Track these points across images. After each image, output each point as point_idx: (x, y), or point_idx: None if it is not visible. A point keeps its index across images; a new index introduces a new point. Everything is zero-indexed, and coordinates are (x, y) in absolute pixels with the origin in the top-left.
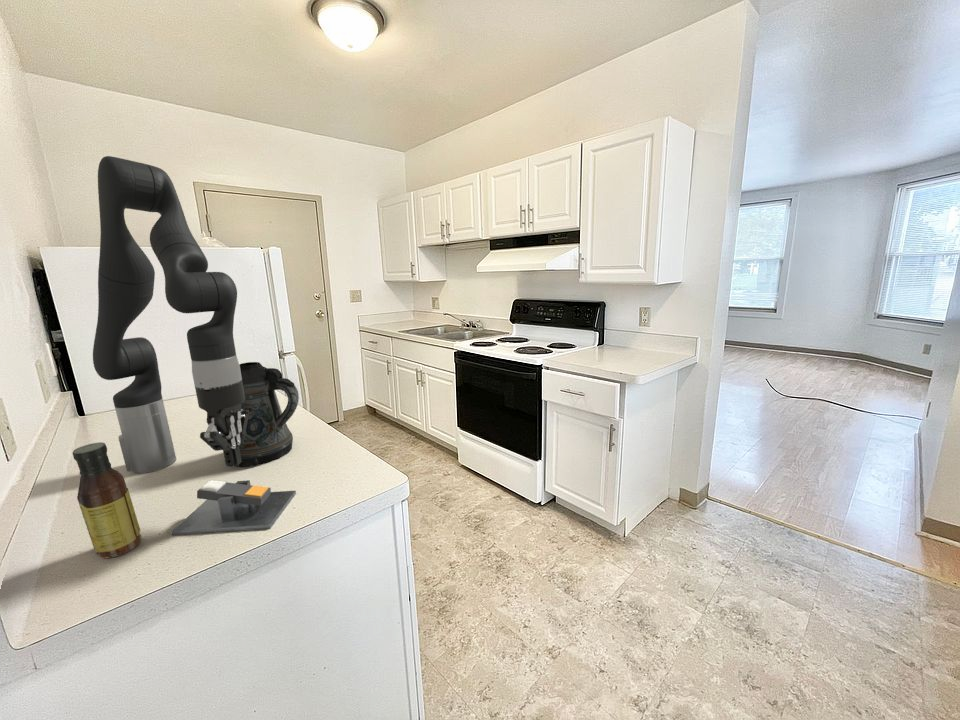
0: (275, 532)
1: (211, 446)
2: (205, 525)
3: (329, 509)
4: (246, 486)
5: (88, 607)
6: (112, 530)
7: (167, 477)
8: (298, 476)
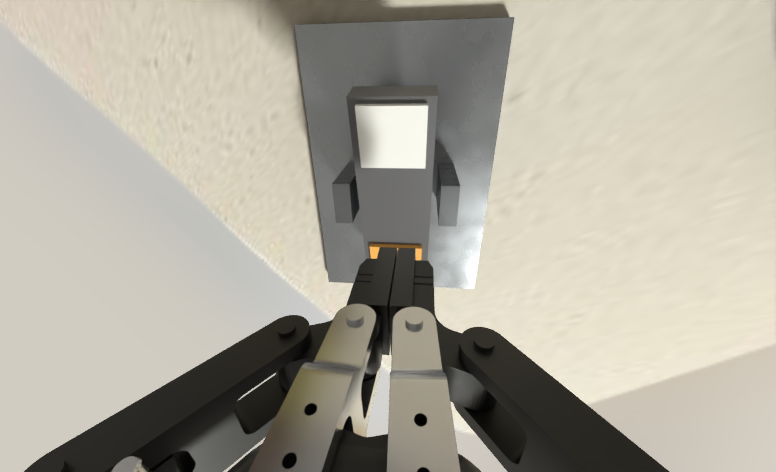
0: (319, 289)
1: (224, 358)
2: (325, 127)
3: None
4: (419, 229)
5: (49, 21)
6: None
7: None
8: (582, 259)
